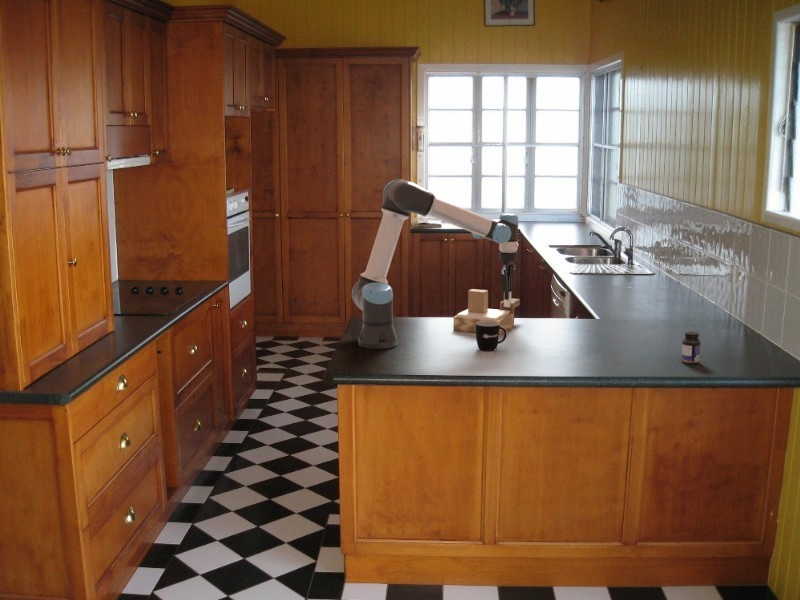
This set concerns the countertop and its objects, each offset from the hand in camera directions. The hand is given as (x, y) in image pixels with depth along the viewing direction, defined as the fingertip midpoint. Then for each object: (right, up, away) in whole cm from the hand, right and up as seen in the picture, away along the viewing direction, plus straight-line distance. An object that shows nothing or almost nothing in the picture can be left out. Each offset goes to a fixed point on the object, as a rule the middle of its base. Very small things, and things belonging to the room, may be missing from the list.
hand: (507, 306), depth 372 cm
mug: (-10, -16, -34) cm, 39 cm away
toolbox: (-10, -9, -2) cm, 14 cm away
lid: (-10, -4, -4) cm, 12 cm away
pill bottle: (+59, -20, -54) cm, 83 cm away
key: (+3, 0, +6) cm, 6 cm away
